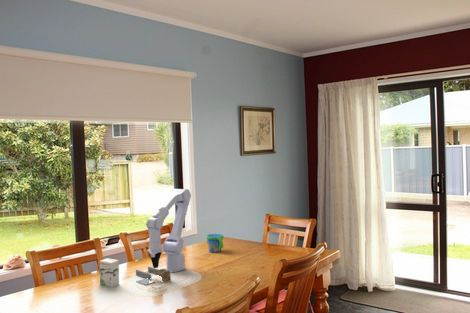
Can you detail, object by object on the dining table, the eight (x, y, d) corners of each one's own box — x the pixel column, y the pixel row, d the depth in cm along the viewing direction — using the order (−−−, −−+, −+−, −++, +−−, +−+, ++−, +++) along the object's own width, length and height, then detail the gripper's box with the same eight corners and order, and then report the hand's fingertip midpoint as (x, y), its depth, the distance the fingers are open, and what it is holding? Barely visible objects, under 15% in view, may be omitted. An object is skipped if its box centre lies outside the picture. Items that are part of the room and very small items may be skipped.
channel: (149, 271, 224) (149, 266, 224) (163, 275, 216) (162, 270, 216) (136, 274, 218) (135, 270, 218) (149, 279, 210) (149, 274, 210)
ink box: (99, 284, 204) (98, 260, 204) (107, 281, 208) (106, 257, 208) (112, 287, 200) (111, 262, 200) (119, 284, 204) (119, 259, 204)
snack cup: (228, 253, 260) (227, 236, 260) (212, 255, 255) (212, 238, 255) (217, 247, 274) (217, 232, 273) (202, 250, 269) (202, 234, 268)
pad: (146, 279, 211) (146, 278, 211) (155, 282, 206) (155, 281, 206) (136, 281, 207) (136, 281, 207) (145, 285, 201) (145, 284, 201)
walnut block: (163, 278, 212) (163, 268, 212) (170, 280, 208) (170, 270, 208) (156, 280, 209) (156, 270, 209) (163, 282, 205) (162, 272, 205)
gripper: (149, 238, 220) (150, 263, 220) (144, 244, 206) (144, 272, 206) (163, 237, 220) (163, 263, 221) (158, 244, 206) (159, 271, 206)
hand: (155, 267), depth 213 cm, fingers closed
